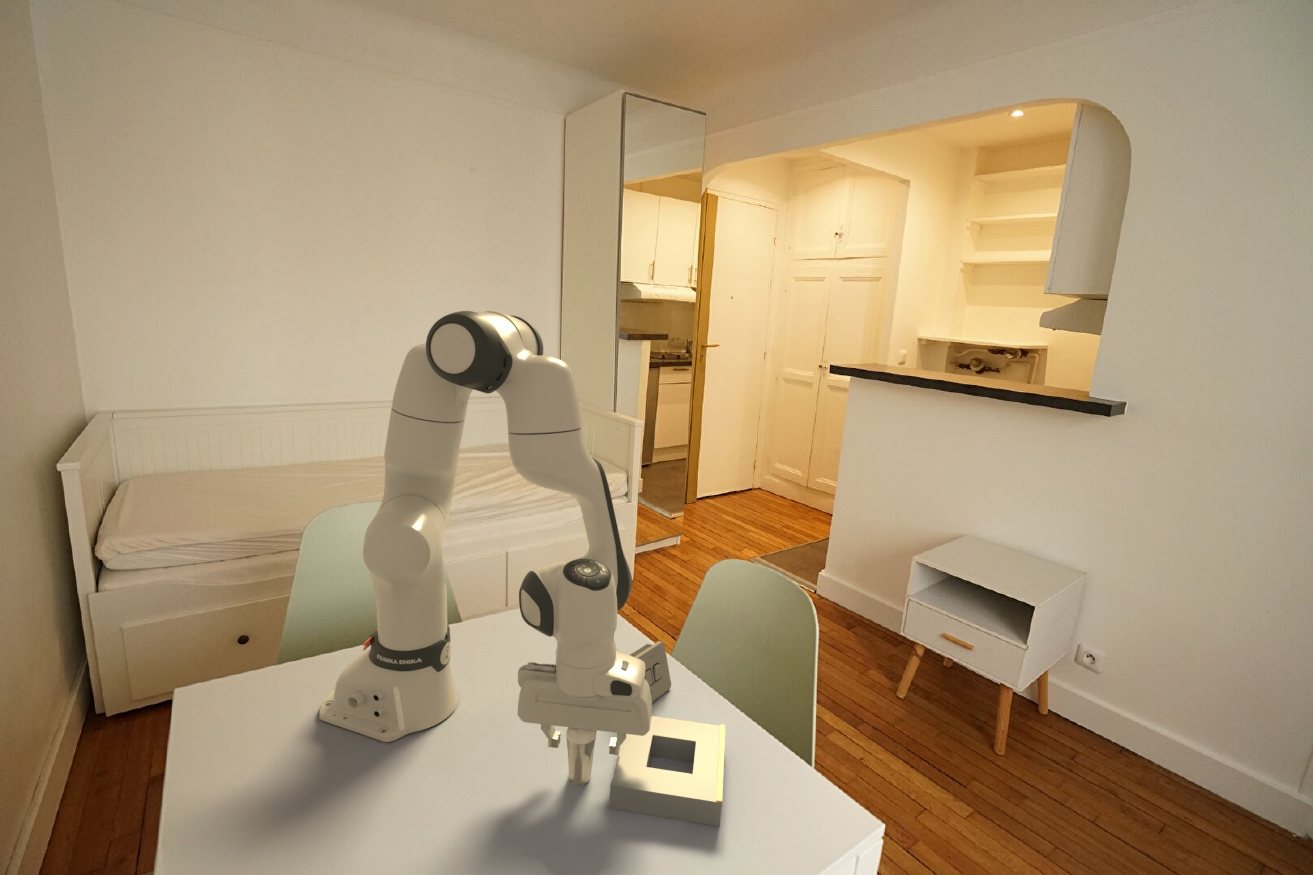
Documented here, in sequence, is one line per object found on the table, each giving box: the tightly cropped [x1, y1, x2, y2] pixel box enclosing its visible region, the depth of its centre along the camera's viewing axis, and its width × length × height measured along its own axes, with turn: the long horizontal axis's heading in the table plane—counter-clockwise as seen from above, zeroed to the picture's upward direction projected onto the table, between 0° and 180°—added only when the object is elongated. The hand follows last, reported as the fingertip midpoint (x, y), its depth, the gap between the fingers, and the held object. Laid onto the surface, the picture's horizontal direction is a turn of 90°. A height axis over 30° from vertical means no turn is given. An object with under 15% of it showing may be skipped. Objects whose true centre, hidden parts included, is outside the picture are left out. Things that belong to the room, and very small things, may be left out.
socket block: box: [608, 715, 726, 828], centre depth 95 cm, size 16×16×4 cm
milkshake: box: [565, 727, 598, 786], centre depth 93 cm, size 5×5×10 cm
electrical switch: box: [629, 640, 672, 703], centre depth 114 cm, size 9×5×9 cm, turn 141°
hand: (584, 748), depth 94 cm, fingers open, 8 cm apart
